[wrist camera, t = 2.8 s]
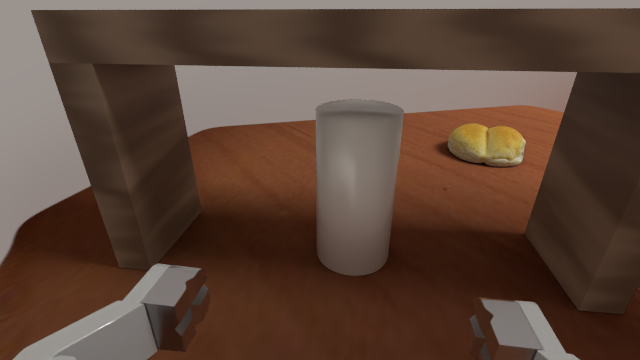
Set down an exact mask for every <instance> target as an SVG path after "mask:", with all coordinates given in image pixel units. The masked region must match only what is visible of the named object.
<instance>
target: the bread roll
mask: <svg viewBox="0 0 640 360" xmlns="http://www.w3.org/2000/svg"><path fill="white" fill-rule="evenodd" d="M525 143H526V141H525V140H524V139H523V137H522V136H521V134H520V133H519V132H517V131H516V130H514V129H512V128H510V127H507V126H497V127H493V128H490V129H488V128H487V127H485V126H483V125H480V124H466V125H462V126H460V127H458V128H457V129H455V130H454V131H453V132H452V133H451V135H450V136H449V139H448V148H449V150H450V152H452V153H453V154H454V155H455V156H457V157H458V158H460V159H463V160H465V161H469V162H473V163H482V162H484V163H485V164H487V165H490V166H496V167H508V166H515V165H518V164H520V163H521V161H522V159H523V152H524V147H525Z"/></svg>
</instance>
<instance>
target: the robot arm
mask: <svg viewBox="0 0 640 360" xmlns="http://www.w3.org/2000/svg"><path fill="white" fill-rule="evenodd" d="M206 279H207V277H206V273H205V270H203V269H200V268H192V267H185V266H177V265H166V264H159V263H158V264H155V265H153V266H152V267H151V268H150V270H149V271H148V272H147V273H146V274H145V275H144V277H143V278H142V279H141V280H140V281H139V282H138V283H137V285H136V286H135V287H134V288H133V289H132V290H131V291H130V293H129V294H128V295H127V296H126V297H125V298H124V299H123V301H116V302H114V303H112V304H110V305H108V306H106V307H104V308H102V309H100V310H98V311H96V312H94V313H92V314H90V315H88V316H86V317H84V318H83V319H81V320H79V321H77V322H75V323H73V324H71V325H69V326H67V327H65V328H63V329H61V330H59V331H57V332H55V333H53V334H51V335H49V336H47V337H45V338H43V339H42V340H40V341H38V342H36V343H34V344H32V345H30V346H28V347H26V348H24V349H23V350H22V351H21V352H20V353H19V354H18V355H17V356H16V357H15V358H14V359H13V360H147V359H148V358H149V357H151V356H152V355H153V354H154V353H156V352H157V351H158V350H157V349H161V350H171V351H181V352H186V350H187V348H188V346H189V344H190V343H191V341H192V339H193V337H194V335H195V334H196V330H195V325H197V324H198V323H200V322H201V321H203V319H204V317H205V315H206V313H207V310H208V306H209V301H210V294H209V289H208V288H207V287H206V286H205V285H204V283H205V281H206ZM473 309H474V312H475V315H473V316H472V317H470V318H469V322H468V326H467V340H468V345H469V349H470V352H471V354H472V355H473V356H474V357H475V358H476V359H477V360H579V359H578V358H577V357H575V356H574V355H573V354H566V352H565V350H564V348H563V347H562V345H561V343H560V342H559V340H558V338H557V337H556V335H555V333H554V332H553V330H552V328H551V327H550V325H549V323H548V322H547V320H546V318H545V316H544V315H543V313H542V311H541V310H540V308H539V306H538V305H537V304H536V303H534V302H527V301H516V300H515V301H513V300H503V299H493V298H482V297H477V298H476V299H475V301H474V304H473Z"/></svg>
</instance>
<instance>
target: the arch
mask: <svg viewBox="0 0 640 360" xmlns="http://www.w3.org/2000/svg"><path fill="white" fill-rule="evenodd" d="M31 12H32V15H33V18H34V20H35V23H36V26H37V29H38V32H39V35H40V38H41V41H42V44H43V47H44V50H45V52H46V56H47V58H48V61H49V64H50V67H51V70H52V73H53V76H54V79H55V82H56V85H57V87H58V91H59V94H60V96H61V99H62V102H63V105H64V108H65V111H66V114H67V117H68V120H69V123H70V125H71V128H72V131H73V134H74V137H75V140H76V143H77V146H78V149H79V152H80V154H81V158H82V160H83V163H84V166H85V169H86V172H87V175H88V178H89V181H90V184H91V187H92V190H93V193H94V195H95V198H96V201H97V204H98V207H99V210H100V213H101V216H102V219H103V222H104V225H105V227H106V230H107V233H108V236H109V239H110V242H111V245H112V248H113V251H114V254H115V257H116V259H117V262H118V265H119V268H129V269H140V270H150V268H151V267H152V266H153V265H155V264H158V263H159V261H160V260H161V259H162V258H163V257H164V255H165V254H166V253H167V252H168V251H169V249H170V248H171V247H172V246H173V245H174V244H175V242H176V241H177V240H178V239H179V238H180V236H181V235H182V234H183V233H184V232H185V230H186V229H187V228H188V227H189V226H190V224H191V223H192V222H193V221H194V220H195V219H196V217H197V216H198V215H199V214H200V213H201V206H200V201H199V195H198V190H197V185H196V179H195V174H194V168H193V163H192V158H191V152H190V147H189V142H188V136H187V131H186V125H185V120H184V115H183V109H182V104H181V99H180V93H179V88H178V82H177V77H176V72H175V66H174V65H205V66H206V65H207V66H265V67H267V66H268V67H321V68H323V67H324V68H380V69H382V68H383V69H384V68H385V69H439V70H440V69H441V70H496V71H497V70H499V71H502V70H503V71H555V72H577V75H576V78H575V81H574V84H573V87H572V90H571V93H570V97H569V100H568V103H567V106H566V109H565V112H564V115H563V118H562V121H561V124H560V127H559V130H558V133H557V136H556V139H555V142H554V145H553V148H552V151H551V155H550V158H549V161H548V164H547V167H546V170H545V173H544V176H543V179H542V182H541V185H540V188H539V191H538V194H537V197H536V200H535V203H534V207H533V210H532V213H531V216H530V219H529V222H528V225H527V228H526V231H525V235H526V237H527V238H528V240H529V241H530V242H531V244H532V245H533V247H534V248H535V250H536V251H537V252H538V254H539V255H540V257H541V258H542V260H543V261H544V262H545V264H546V265H547V267H548V268H549V269H550V271H551V272H552V274H553V275H554V277H555V278H556V279H557V281H558V282H559V284H560V285H561V287H562V288H563V289H564V291H565V292H566V294H567V295H568V297H569V298H570V299H571V301H572V302H573V304H574V305H575V306H576V308H577V309H578V310H581V311H592V312H603V313H613V314H623V313H624V311H625V310H626V308H627V306H628V304H629V302H630V301H631V299H632V297H633V295H634V293H635V292H636V290H637V288H638V286H639V284H640V9H639V8H638V9H636V8H634V9H313V10H311V9H308V10H307V9H305V10H303V9H295V10H294V9H293V10H31Z"/></svg>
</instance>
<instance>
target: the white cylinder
mask: <svg viewBox="0 0 640 360" xmlns="http://www.w3.org/2000/svg"><path fill="white" fill-rule="evenodd" d="M403 115H404V111H403V109H402V108H400V107H398V106H397V105H394V104H391V103H386V102H381V101H374V100H361V99H360V100H359V99H350V100H337V101H331V102H327V103H324V104H321V105H319V106H318V107H317V108H316V196H317V255H318V258H319V260H320V261H321V263H322V264H323V265H324V266H326V267H327V268H328V269H330V270H332V271H334V272H336V273H339V274H343V275H349V276H361V275H367V274H371V273H373V272H376V271H377V270H379V269H380V268H382V267H383V266H384V264H385V263H386V261H387V258H388V250H389V241H390V232H391V223H392V214H393V205H394V196H395V187H396V178H397V169H398V160H399V151H400V142H401V133H402V124H403Z"/></svg>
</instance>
